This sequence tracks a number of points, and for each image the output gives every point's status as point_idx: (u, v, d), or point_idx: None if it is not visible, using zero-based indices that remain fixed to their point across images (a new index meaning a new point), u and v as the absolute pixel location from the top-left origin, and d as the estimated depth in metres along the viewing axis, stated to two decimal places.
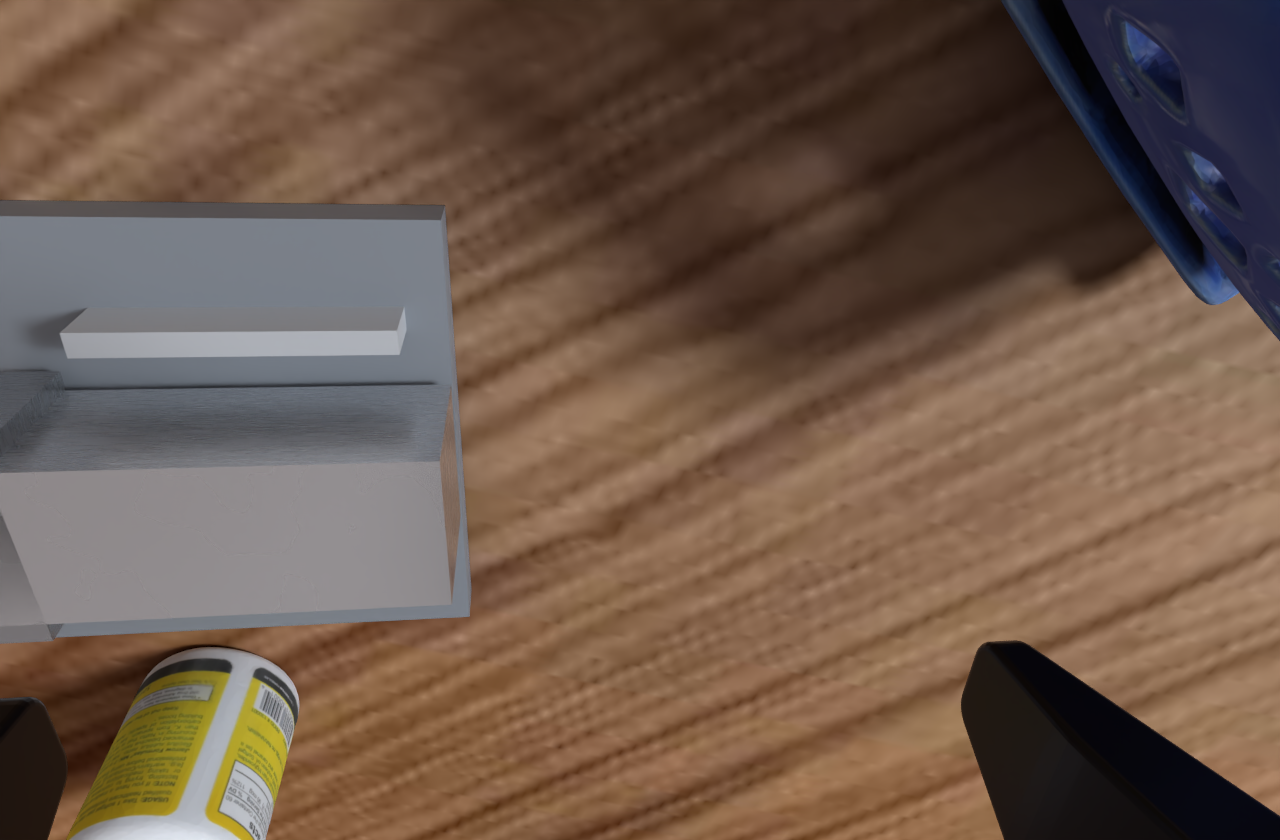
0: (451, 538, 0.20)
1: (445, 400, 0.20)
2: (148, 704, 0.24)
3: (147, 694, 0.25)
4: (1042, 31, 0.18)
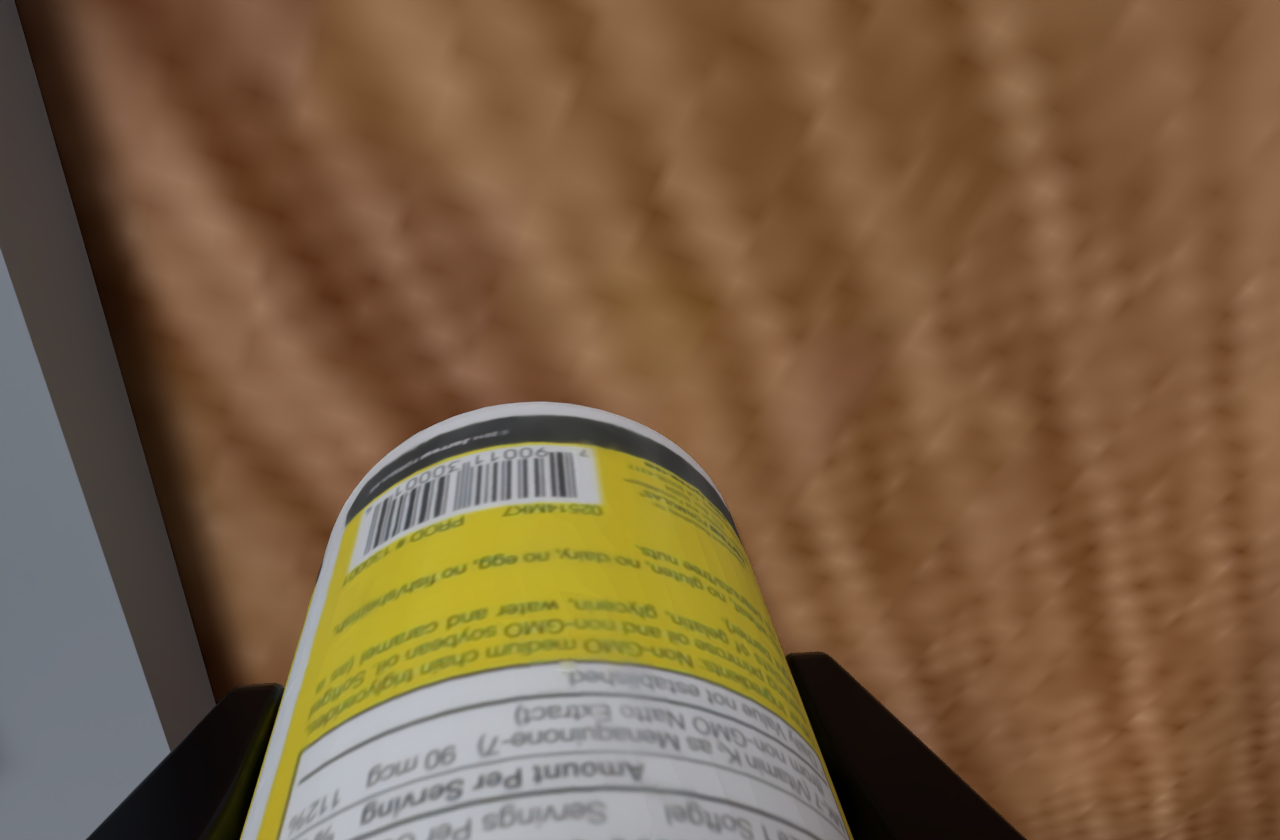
0: None
1: None
2: None
3: None
4: None
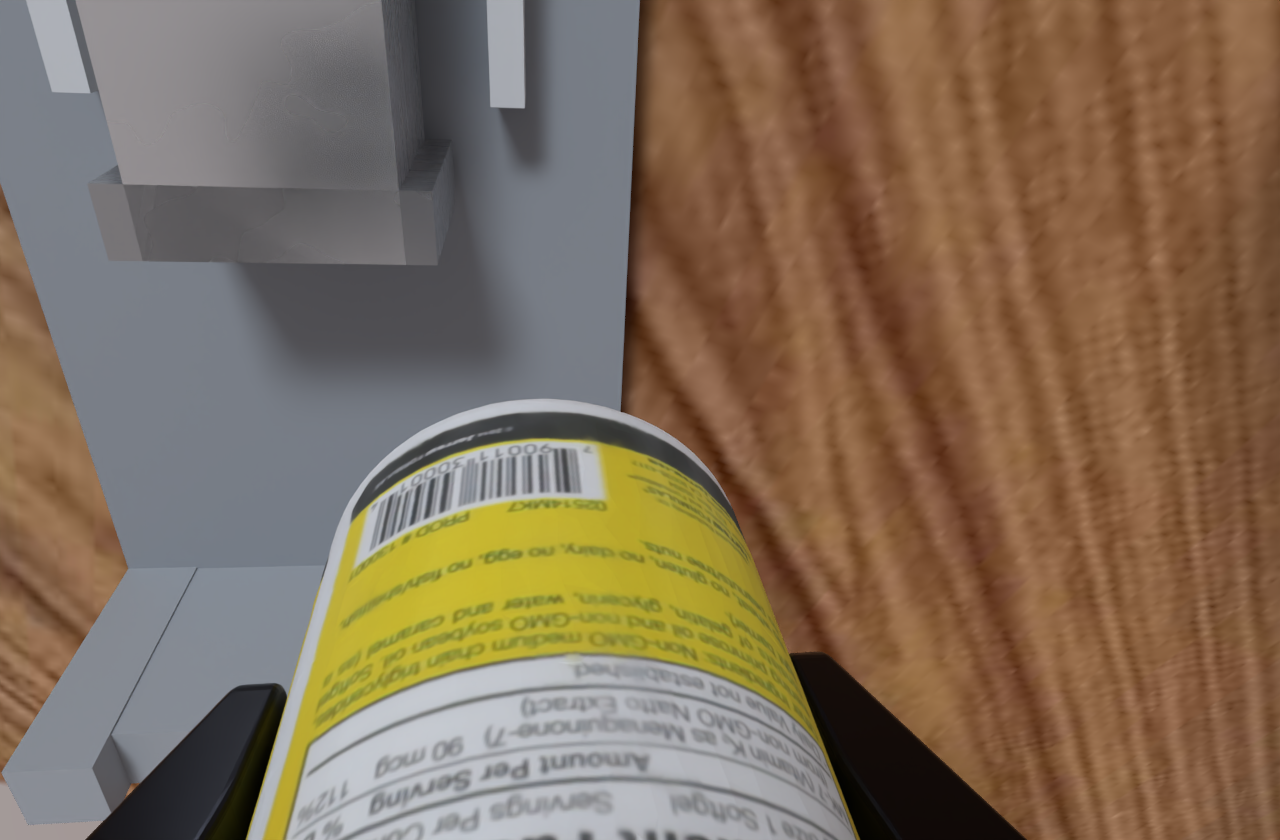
0: None
1: None
2: None
3: None
4: None
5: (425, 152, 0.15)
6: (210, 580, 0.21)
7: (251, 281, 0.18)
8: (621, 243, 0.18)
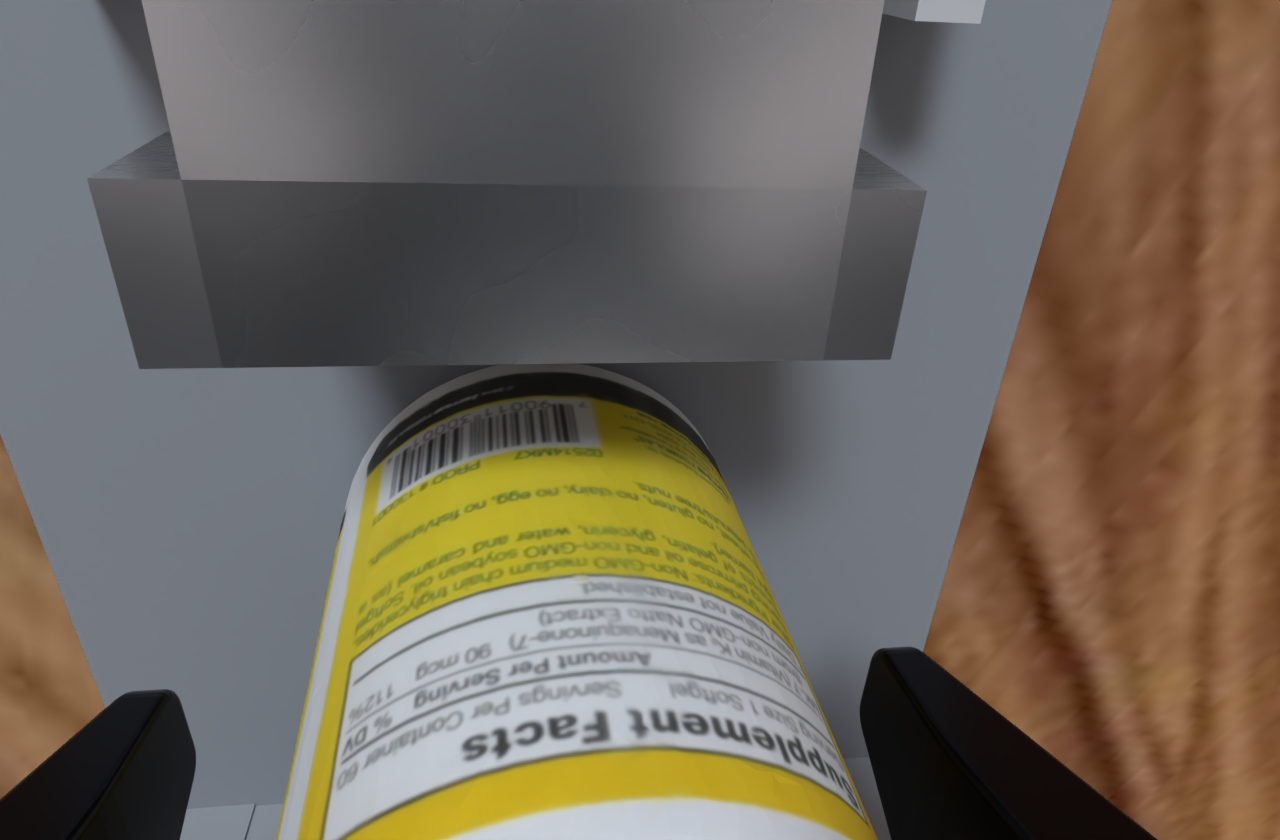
0: None
1: None
2: None
3: None
4: None
5: None
6: None
7: None
8: (1018, 284, 0.10)
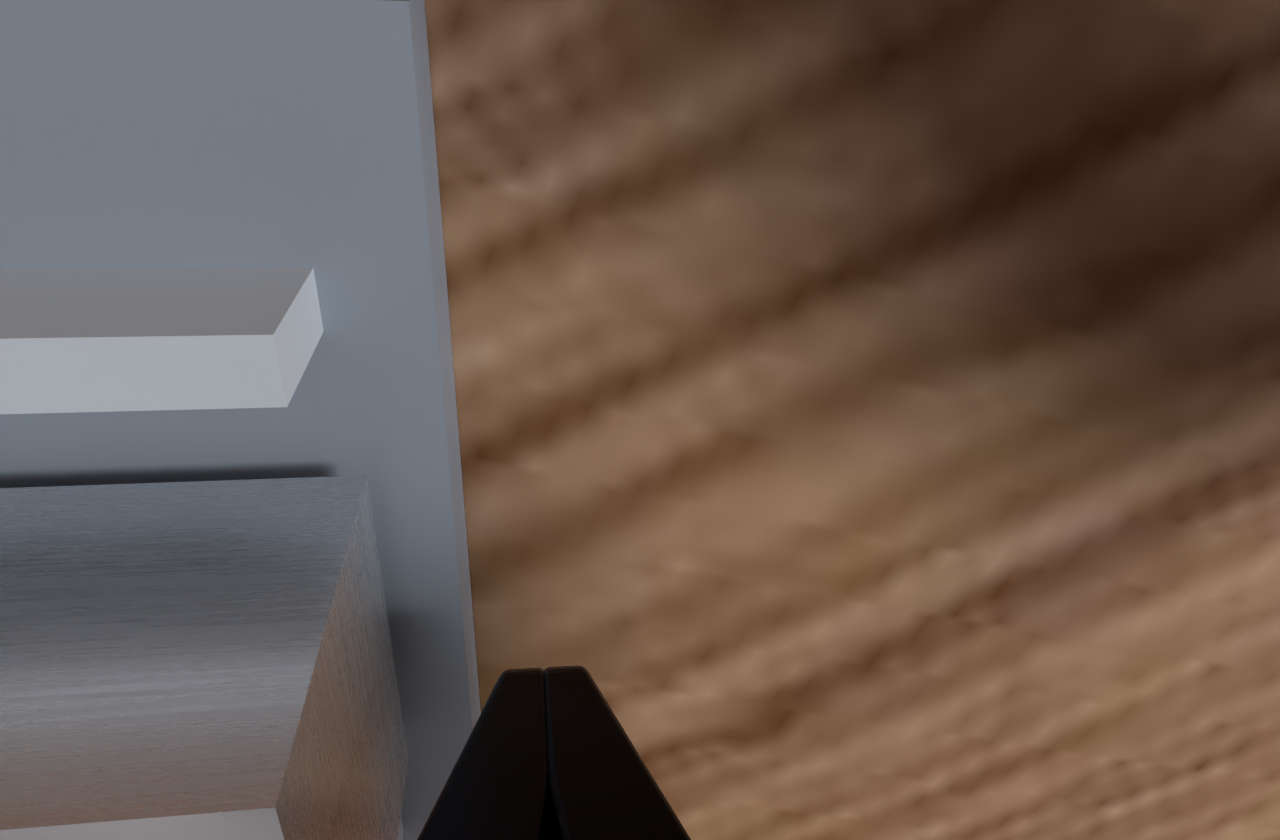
0: None
1: (344, 529, 0.07)
2: None
3: None
4: None
5: None
6: None
7: None
8: None
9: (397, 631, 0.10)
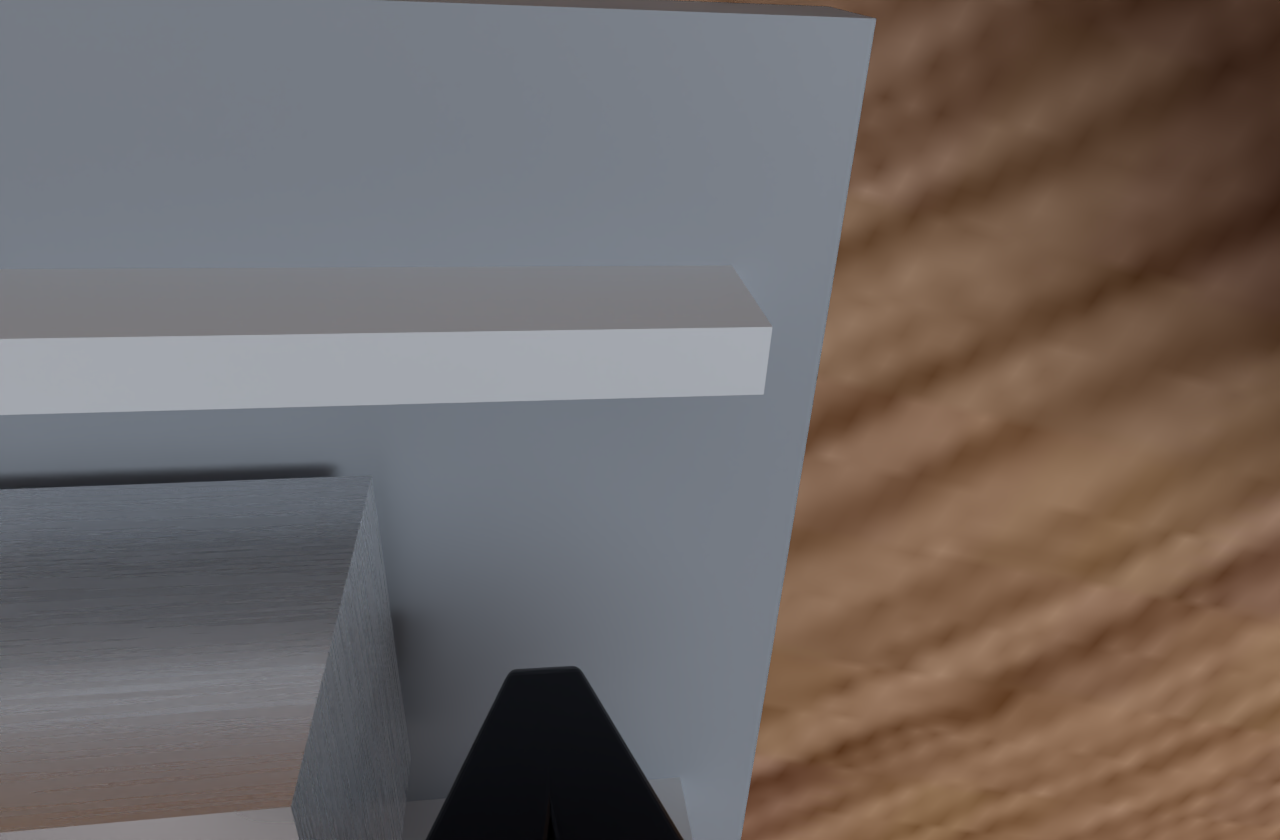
0: None
1: (351, 528, 0.07)
2: None
3: None
4: None
5: None
6: None
7: None
8: None
9: (719, 611, 0.10)
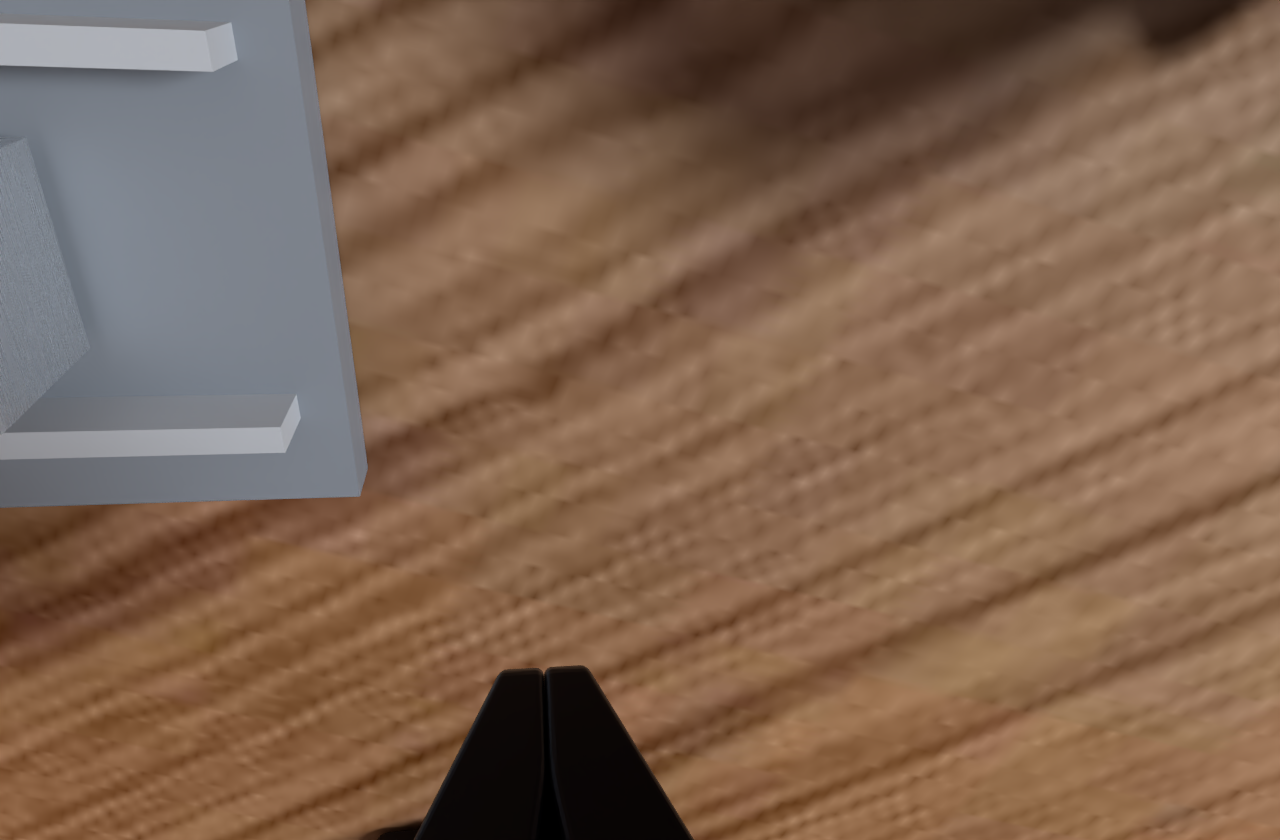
0: (4, 348, 0.14)
1: None
2: None
3: None
4: None
5: None
6: None
7: None
8: None
9: (288, 261, 0.17)
